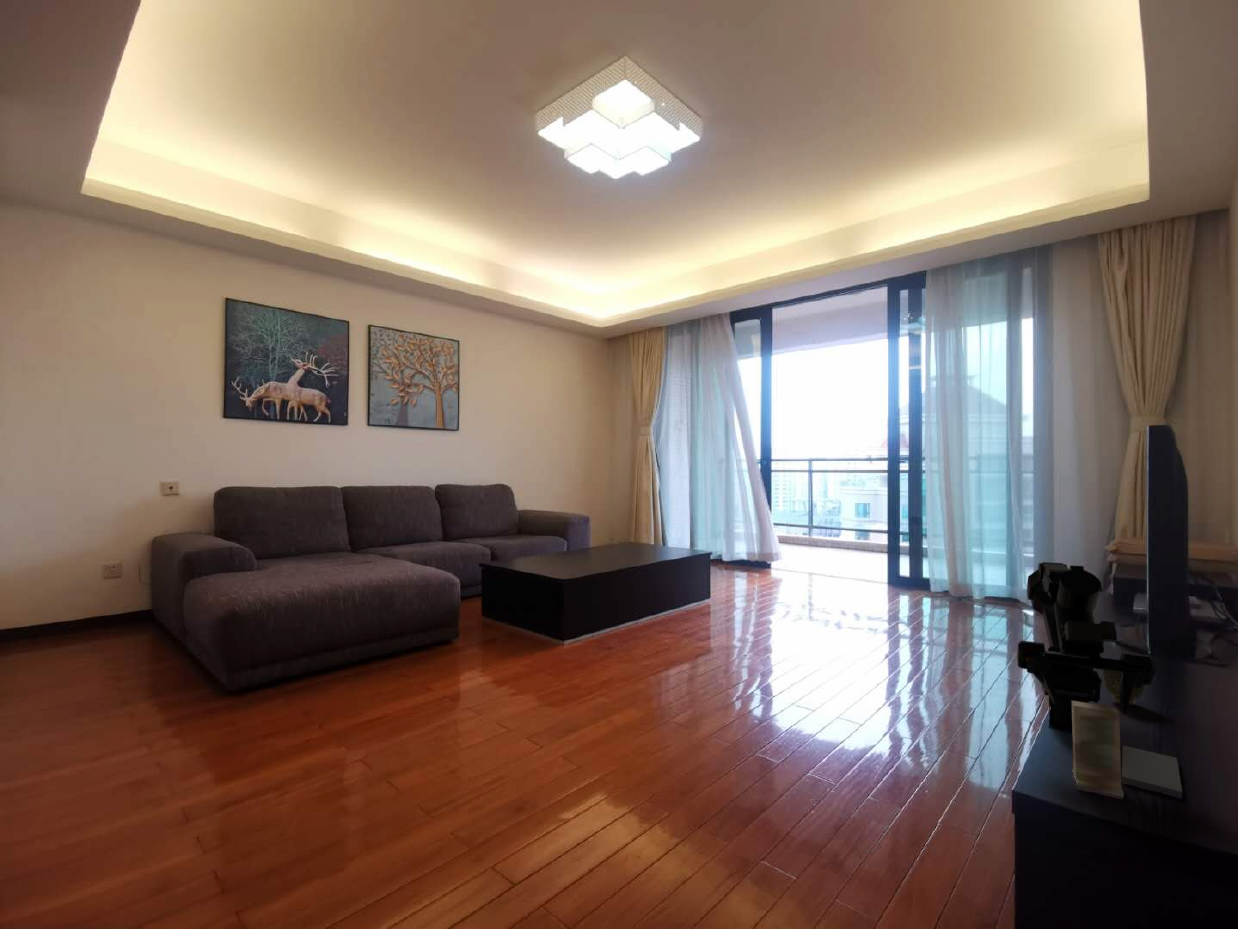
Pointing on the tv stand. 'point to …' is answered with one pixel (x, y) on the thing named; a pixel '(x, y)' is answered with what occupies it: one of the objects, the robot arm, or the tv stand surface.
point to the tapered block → (1096, 747)
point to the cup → (1112, 686)
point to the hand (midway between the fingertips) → (1089, 707)
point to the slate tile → (1150, 770)
